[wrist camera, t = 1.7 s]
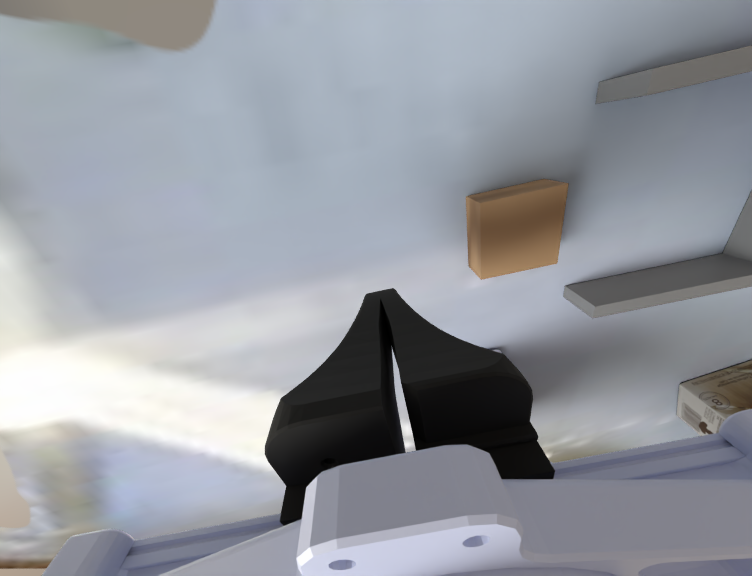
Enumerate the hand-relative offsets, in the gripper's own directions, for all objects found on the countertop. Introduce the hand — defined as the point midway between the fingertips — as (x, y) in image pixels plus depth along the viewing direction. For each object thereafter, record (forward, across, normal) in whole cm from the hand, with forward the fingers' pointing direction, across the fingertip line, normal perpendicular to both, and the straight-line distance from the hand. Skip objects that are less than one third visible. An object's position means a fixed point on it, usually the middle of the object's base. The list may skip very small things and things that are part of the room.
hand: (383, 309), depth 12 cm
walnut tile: (+7, -9, 0) cm, 12 cm away
